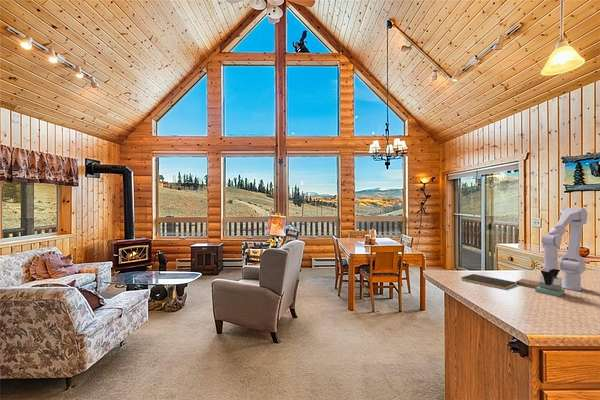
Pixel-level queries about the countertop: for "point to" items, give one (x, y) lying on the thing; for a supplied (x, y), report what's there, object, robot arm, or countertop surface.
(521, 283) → the stand
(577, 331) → the countertop surface
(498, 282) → the hardcover book
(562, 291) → the stand
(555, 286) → the block
